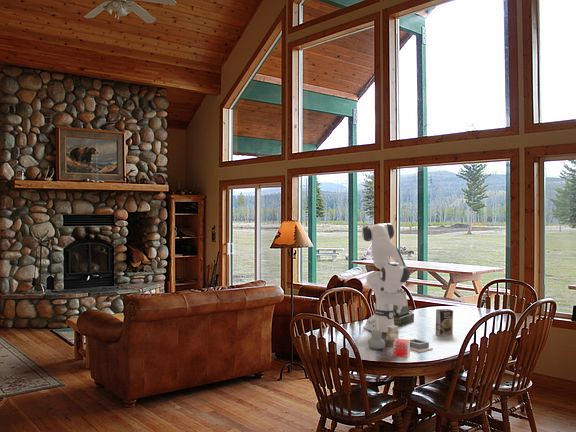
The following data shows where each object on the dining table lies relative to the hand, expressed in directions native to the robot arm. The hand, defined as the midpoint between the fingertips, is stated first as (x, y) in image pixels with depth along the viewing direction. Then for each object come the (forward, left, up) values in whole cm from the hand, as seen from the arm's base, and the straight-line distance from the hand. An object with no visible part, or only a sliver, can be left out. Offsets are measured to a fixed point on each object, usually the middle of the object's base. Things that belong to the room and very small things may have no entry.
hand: (392, 311), depth 329 cm
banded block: (0, 0, -19) cm, 19 cm away
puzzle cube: (+22, -15, -19) cm, 33 cm away
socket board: (+17, +3, -19) cm, 25 cm away
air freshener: (+4, -17, -19) cm, 26 cm away
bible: (-43, +46, -19) cm, 66 cm away
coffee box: (+2, +45, -19) cm, 49 cm away
